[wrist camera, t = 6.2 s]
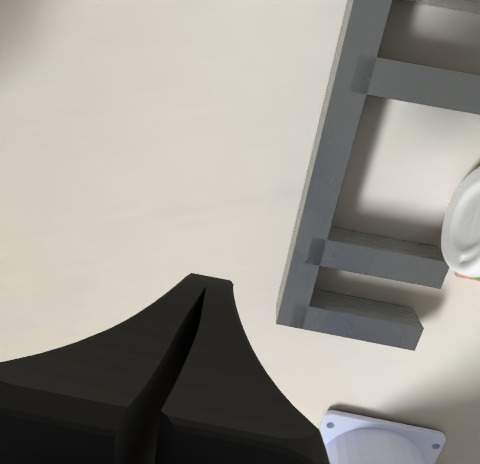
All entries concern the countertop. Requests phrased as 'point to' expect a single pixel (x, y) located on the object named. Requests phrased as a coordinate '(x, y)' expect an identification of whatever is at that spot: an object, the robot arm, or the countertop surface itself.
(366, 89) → the rail
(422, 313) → the countertop surface
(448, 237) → the supplement bottle
